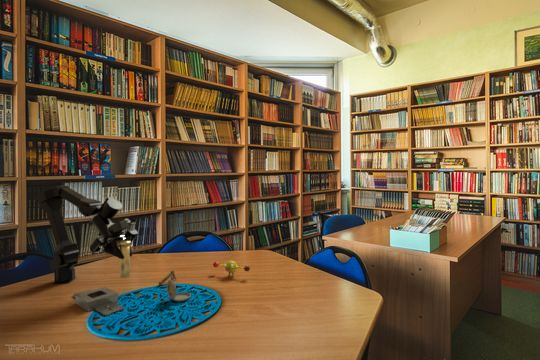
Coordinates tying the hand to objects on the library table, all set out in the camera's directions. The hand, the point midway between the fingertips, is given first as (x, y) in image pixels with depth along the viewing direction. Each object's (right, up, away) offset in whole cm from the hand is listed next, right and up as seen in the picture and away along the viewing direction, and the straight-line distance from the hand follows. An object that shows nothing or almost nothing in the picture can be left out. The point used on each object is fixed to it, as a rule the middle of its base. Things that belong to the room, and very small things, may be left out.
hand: (127, 257), depth 119 cm
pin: (-1, -8, +1) cm, 8 cm away
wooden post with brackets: (+12, -13, +10) cm, 21 cm away
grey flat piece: (-7, -14, -9) cm, 18 cm away
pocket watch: (+21, -14, -6) cm, 26 cm away
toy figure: (+37, -13, +18) cm, 43 cm away
